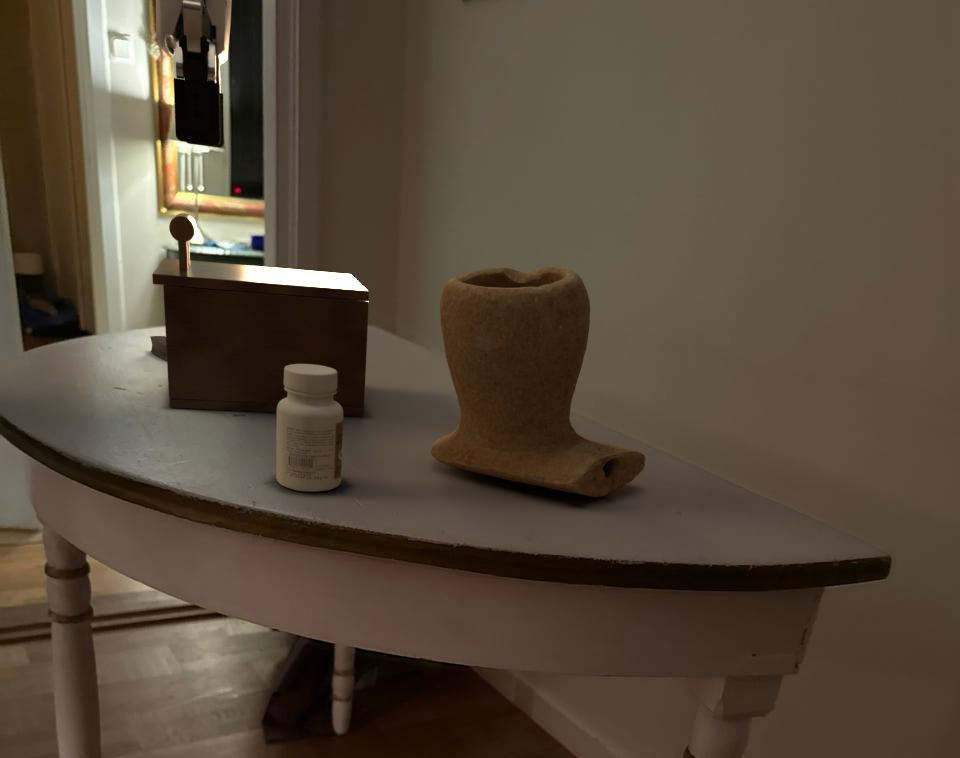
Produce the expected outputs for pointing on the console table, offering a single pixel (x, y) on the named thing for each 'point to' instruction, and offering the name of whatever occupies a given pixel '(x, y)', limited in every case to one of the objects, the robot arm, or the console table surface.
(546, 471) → the stone cup
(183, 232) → the lid
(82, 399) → the console table surface
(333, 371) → the pill bottle
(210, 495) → the console table surface
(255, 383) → the chest
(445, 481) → the console table surface
